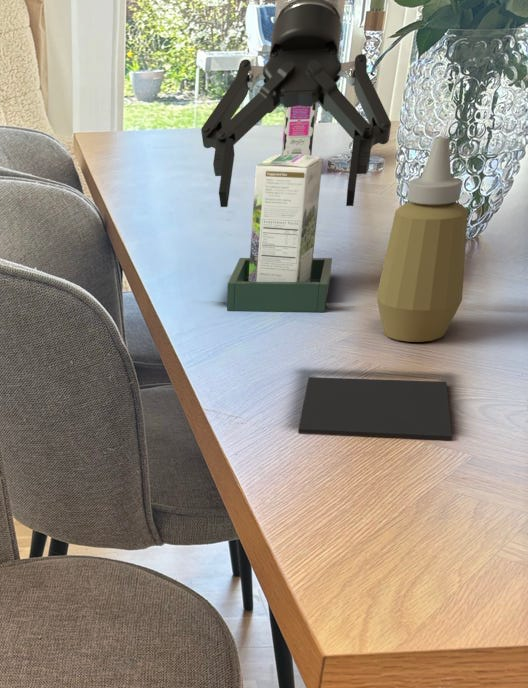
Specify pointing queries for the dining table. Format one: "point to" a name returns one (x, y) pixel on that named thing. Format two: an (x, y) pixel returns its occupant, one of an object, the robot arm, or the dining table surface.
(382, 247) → the dining table surface
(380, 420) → the mat
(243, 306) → the tray
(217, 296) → the dining table surface
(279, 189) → the syrup box
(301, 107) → the candy bar box
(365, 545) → the dining table surface
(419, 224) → the squeeze bottle
